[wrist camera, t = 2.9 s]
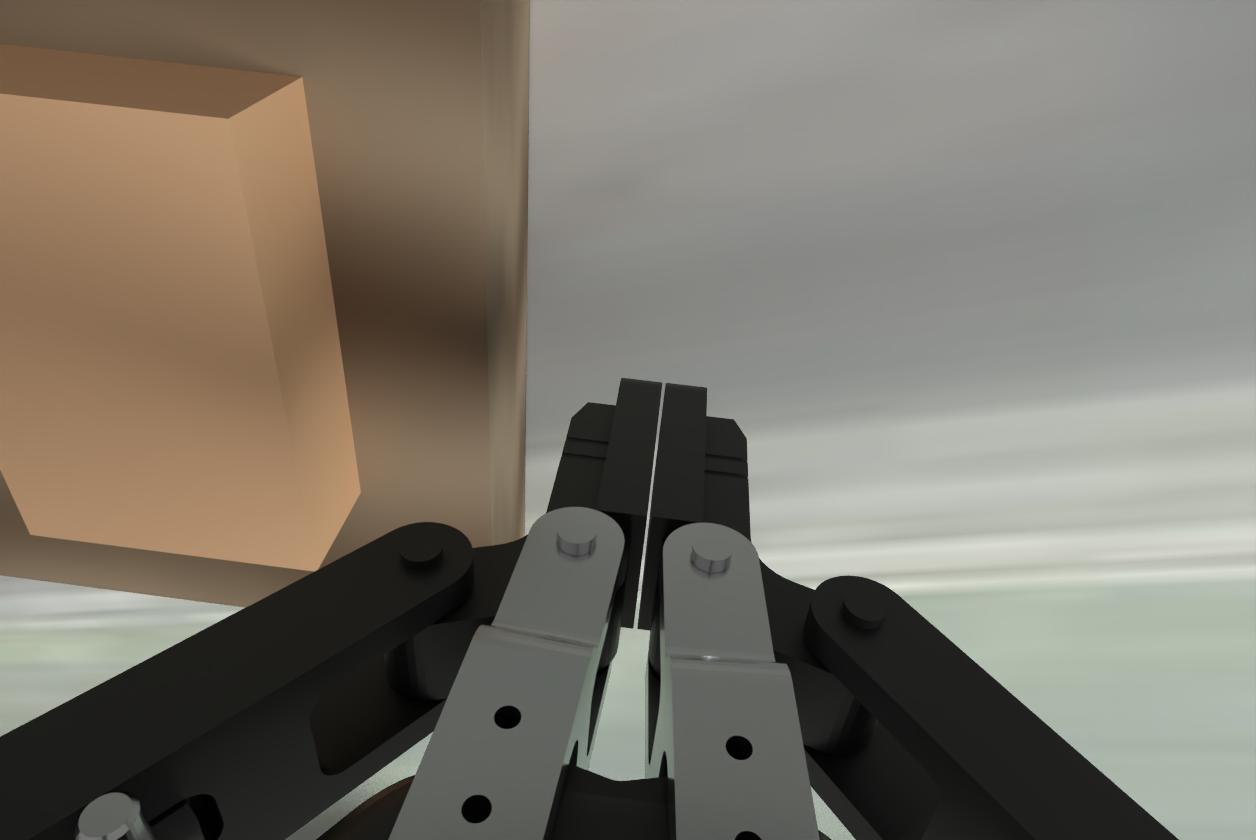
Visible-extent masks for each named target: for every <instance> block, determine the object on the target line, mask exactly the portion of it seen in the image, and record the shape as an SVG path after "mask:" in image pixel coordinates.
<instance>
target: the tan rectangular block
mask: <svg viewBox="0 0 1256 840" xmlns="http://www.w3.org/2000/svg"><path fill="white" fill-rule="evenodd" d="M0 470H1V472H2V475H3V477H4V479H5V481H6V483H7V485H8V488H9V490H10V492H11V494H12V496H13V498H14V501H15V503H16V505H17V507H18V509H19V511H20V514H21V516H22V518H23V520H24V522H25V524H26V527H27V529H28V531H29V533H30V535H35V536H43V537H51V538H58V539H66V540H74V541H82V542H89V543H97V544H105V545H113V546H120V547H128V548H136V549H144V550H151V551H159V552H167V553H175V554H182V555H190V556H198V557H206V558H213V559H221V560H229V561H236V562H244V563H252V564H260V565H267V566H275V567H283V568H291V569H298V570H306V571H314V572H315V571H317V570H318V569H319V567H320V565H321V563H322V561H323V560H324V558H325V556H326V554H327V552H328V551H329V549H330V547H331V545H332V543H333V542H334V540H335V538H336V536H337V534H338V533H339V531H340V529H341V527H342V526H343V524H344V522H345V520H346V518H347V517H348V515H349V513H350V511H351V509H352V508H353V506H354V504H355V502H356V500H357V499H358V497H359V495H360V493H361V490H360V483H359V476H358V469H357V462H356V455H355V448H354V440H353V433H352V426H351V419H350V412H349V405H348V398H347V391H346V384H345V376H344V369H343V362H342V355H341V348H340V341H339V334H338V327H337V320H336V312H335V305H334V298H333V291H332V284H331V277H330V270H329V263H328V255H327V248H326V241H325V234H324V227H323V220H322V213H321V206H320V199H319V191H318V184H317V177H316V170H315V163H314V156H313V149H312V142H311V135H310V127H309V120H308V113H307V106H306V99H305V92H304V85H303V78H302V77H299V76H290V75H281V74H272V73H262V72H253V71H244V70H235V69H226V68H217V67H207V66H198V65H189V64H180V63H171V62H162V61H153V60H143V59H134V58H125V57H116V56H107V55H98V54H88V53H79V52H70V51H61V50H52V49H43V48H33V47H24V46H15V45H6V44H0Z"/></svg>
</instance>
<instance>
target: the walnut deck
mask: <svg viewBox="0 0 1256 840" xmlns="http://www.w3.org/2000/svg"><path fill="white" fill-rule="evenodd" d="M529 32H530V0H0V44H6V45H15V46H24V47H33V48H43V49H52V50H61V51H70V52H79V53H88V54H98V55H107V56H116V57H125V58H134V59H143V60H153V61H162V62H171V63H180V64H189V65H198V66H207V67H217V68H226V69H235V70H244V71H253V72H262V73H272V74H281V75H290V76H299V77H302V78H303V85H304V92H305V99H306V106H307V113H308V120H309V127H310V135H311V142H312V149H313V156H314V163H315V170H316V177H317V184H318V191H319V199H320V206H321V213H322V220H323V227H324V234H325V241H326V248H327V255H328V263H329V270H330V277H331V284H332V291H333V298H334V305H335V312H336V320H337V327H338V334H339V341H340V348H341V355H342V362H343V369H344V376H345V384H346V391H347V398H348V405H349V412H350V419H351V426H352V433H353V440H354V448H355V455H356V462H357V469H358V476H359V483H360V490H361V493H360V495H359V497H358V499H357V500H356V502H355V504H354V506H353V508H352V509H351V511H350V513H349V515H348V517H347V518H346V520H345V522H344V524H343V526H342V527H341V529H340V531H339V533H338V534H337V536H336V538H335V540H334V542H333V543H332V545H331V547H330V549H329V551H328V552H327V554H326V556H325V558H324V560H323V561H322V563H321V565H320V567H319V569H320V568H322V567H324V566H326V565H328V564H330V563H332V562H334V561H336V560H337V559H339V558H341V557H343V556H345V555H347V554H349V553H351V552H353V551H355V550H356V549H358V548H360V547H362V546H364V545H366V544H368V543H370V542H372V541H374V540H375V539H377V538H379V537H381V536H383V535H385V534H387V533H389V532H391V531H393V530H395V529H397V528H399V527H402V526H405V525H408V524H413V523H418V522H436V523H442V524H446V525H449V526H452V527H454V528H456V529H458V530H459V531H461V532H462V533H463V534H464V535H465V536H466V537H467V538H468V539H469V541H470V542H471V545H472V548H475V547H483V546H492V545H499V544H505V543H509V542H512V541H515V540H518V539H520V538H523V537H524V534H525V438H526V336H527V235H528V133H529ZM313 572H314V571H306V570H298V569H291V568H283V567H275V566H267V565H260V564H252V563H244V562H236V561H229V560H221V559H213V558H206V557H198V556H190V555H182V554H175V553H167V552H159V551H151V550H144V549H136V548H128V547H120V546H113V545H105V544H97V543H89V542H82V541H74V540H66V539H58V538H51V537H43V536H35V535H30V533H29V531H28V529H27V527H26V524H25V522H24V520H23V518H22V516H21V514H20V511H19V509H18V507H17V505H16V503H15V501H14V498H13V496H12V494H11V492H10V490H9V488H8V485H7V483H6V481H5V479H4V477H3V475H2V472H1V470H0V575H2V576H10V577H18V578H25V579H33V580H40V581H48V582H56V583H63V584H71V585H79V586H86V587H94V588H102V589H109V590H117V591H124V592H132V593H140V594H147V595H155V596H163V597H170V598H178V599H186V600H193V601H201V602H208V603H216V604H224V605H231V606H239V607H248V606H250V605H252V604H254V603H256V602H258V601H260V600H261V599H263V598H265V597H267V596H269V595H271V594H273V593H275V592H277V591H279V590H280V589H282V588H284V587H286V586H288V585H290V584H292V583H294V582H296V581H298V580H299V579H301V578H303V577H305V576H307V575H309V574H311V573H313Z"/></svg>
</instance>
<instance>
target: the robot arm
mask: <svg viewBox="0 0 1256 840" xmlns="http://www.w3.org/2000/svg"><path fill="white" fill-rule="evenodd" d="M661 389H662V383H661V382H653V381H644V380H636V379H627V378H621V382H620V387H619V393H618V398H617V403H616V406H615V405H606V404H598V403H590V402H588V403H587V404H586V405H585V406H584V407H583V408H582V409H581V410H579V411H578V412H577V413H576V414H575V415H574V416H573V417H572V419H571V422H570V426H569V430H568V434H567V438H566V441H565V445H564V449H563V452H562V457H561V460H560V464H559V467H558V471H557V475H556V479H555V482H554V486H553V490H552V494H551V497H550V501H549V505H548V509H547V512H546V514H544V515H543V516H541V517H540V518H539V519H538V520H537V521H536V522H535V523H534V524H533V525H532V527H531V529H530V531H529V534H528V535H526V536H524V537H523V538H520V539H518V540H515V541H512V542H509V543H505V544H499V545H492V546H483V547H475V548H472V545H471V542H470V541H469V539H468V538H467V537H466V536H465V535H464V534H463V533H462V532H461V531H459V530H458V529H456V528H454V527H452V526H449V525H446V524H442V523H436V522H418V523H413V524H408V525H405V526H402V527H399V528H397V529H395V530H393V531H391V532H389V533H387V534H385V535H383V536H381V537H379V538H377V539H375V540H374V541H372V542H370V543H368V544H366V545H364V546H362V547H360V548H358V549H356V550H355V551H353V552H351V553H349V554H347V555H345V556H343V557H341V558H339V559H337V560H336V561H334V562H332V563H330V564H328V565H326V566H324V567H322V568H320V569H318V570H317V571H315V572H313V573H311V574H309V575H307V576H305V577H303V578H301V579H299V580H298V581H296V582H294V583H292V584H290V585H288V586H286V587H284V588H282V589H280V590H279V591H277V592H275V593H273V594H271V595H269V596H267V597H265V598H263V599H261V600H260V601H258V602H256V603H254V604H252V605H250V606H248V607H246V608H244V609H242V610H240V611H239V612H237V613H235V614H233V615H231V616H229V617H227V618H225V619H223V620H221V621H220V622H218V623H216V624H214V625H212V626H210V627H208V628H206V629H204V630H202V631H201V632H199V633H197V634H195V635H193V636H191V637H189V638H187V639H185V640H183V641H182V642H180V643H178V644H176V645H174V646H172V647H170V648H168V649H166V650H164V651H163V652H161V653H159V654H157V655H155V656H153V657H151V658H149V659H147V660H145V661H144V662H142V663H140V664H138V665H136V666H134V667H132V668H130V669H128V670H126V671H125V672H123V673H121V674H119V675H117V676H115V677H113V678H111V679H109V680H107V681H105V682H104V683H102V684H100V685H98V686H96V687H94V688H92V689H90V690H88V691H86V692H85V693H83V694H81V695H79V696H77V697H75V698H73V699H71V700H69V701H67V702H66V703H64V704H62V705H60V706H58V707H56V708H54V709H52V710H50V711H48V712H47V713H45V714H43V715H41V716H39V717H37V718H35V719H33V720H31V721H29V722H28V723H26V724H24V725H22V726H20V727H18V728H16V729H14V730H12V731H10V732H9V733H7V734H5V735H3V736H1V737H0V840H285V839H286V838H287V837H289V836H290V835H291V834H293V833H294V832H296V831H297V830H298V829H300V828H301V827H302V826H304V825H305V824H307V823H308V822H309V821H311V820H312V819H313V818H315V817H316V816H318V815H319V814H320V813H322V812H323V811H324V810H326V809H327V808H329V807H330V806H331V805H333V804H334V803H335V802H337V801H338V800H340V799H341V798H342V797H344V796H345V795H346V794H348V793H349V792H351V791H352V790H353V789H355V788H356V787H357V786H359V785H360V784H362V783H363V782H364V781H366V780H367V779H368V778H370V777H371V776H373V775H374V774H375V773H377V772H378V771H379V770H381V769H382V768H384V767H385V766H386V765H388V764H389V763H390V762H392V761H393V760H395V759H396V758H397V757H399V756H400V755H401V754H403V753H404V752H406V751H407V750H408V749H410V748H411V747H412V746H414V745H415V744H417V743H418V742H419V741H421V740H422V739H423V738H425V737H426V736H428V735H429V734H430V733H432V732H433V731H434V732H433V734H432V736H431V739H430V741H429V744H428V746H427V748H426V751H425V753H424V756H423V758H422V760H421V763H420V765H419V768H418V770H417V772H416V775H414V776H411V777H408V778H405V779H403V780H401V781H399V782H397V783H395V784H393V785H391V786H389V787H387V788H385V789H383V790H382V791H380V792H379V793H377V794H375V795H374V796H372V797H370V798H369V799H367V800H366V801H365V802H363V803H362V804H361V805H359V806H358V807H357V808H355V809H354V810H353V811H352V812H350V813H349V814H348V815H347V816H345V817H344V818H343V819H342V820H340V821H339V822H338V823H337V824H335V825H334V826H333V827H331V828H330V829H329V830H328V831H326V832H325V833H324V834H323V835H321V836H320V837H319V838H318V839H316V840H831V839H830V838H829V837H827V836H826V835H825V834H823V833H822V832H820V831H819V830H818V827H817V821H816V816H815V810H814V804H813V798H812V792H811V787H812V788H813V789H814V790H815V792H816V793H817V794H818V795H819V796H820V797H821V799H822V800H823V801H824V802H825V803H826V805H827V806H828V807H829V808H830V809H831V810H832V812H833V813H834V814H835V815H836V816H837V818H838V819H839V820H840V821H841V822H842V824H843V825H844V826H845V827H846V828H847V829H848V831H849V832H850V833H851V834H852V835H853V837H854V838H855V839H856V840H1178V839H1177V838H1176V837H1175V836H1174V835H1173V834H1172V833H1170V832H1169V831H1168V830H1167V829H1166V828H1165V827H1164V826H1162V825H1161V824H1160V823H1159V822H1158V821H1157V820H1156V819H1154V818H1153V817H1152V816H1151V815H1150V814H1149V813H1148V812H1146V811H1145V810H1144V809H1143V808H1142V807H1141V806H1139V805H1138V804H1137V803H1136V802H1135V801H1134V800H1133V799H1131V798H1130V797H1129V796H1128V795H1127V794H1126V793H1125V792H1123V791H1122V790H1121V789H1120V788H1119V787H1118V786H1117V785H1115V784H1114V783H1113V782H1112V781H1111V780H1110V779H1109V778H1107V777H1106V776H1105V775H1104V774H1103V773H1102V772H1100V771H1099V770H1098V769H1097V768H1096V767H1095V766H1094V765H1092V764H1091V763H1090V762H1089V761H1088V760H1087V759H1086V758H1084V757H1083V756H1082V755H1081V754H1080V753H1079V752H1078V751H1076V750H1075V749H1074V748H1073V747H1072V746H1071V745H1070V744H1068V743H1067V742H1066V741H1065V740H1064V739H1063V738H1061V737H1060V736H1059V735H1058V734H1057V733H1056V732H1055V731H1053V730H1052V729H1051V728H1050V727H1049V726H1048V725H1047V724H1045V723H1044V722H1043V721H1042V720H1041V719H1040V718H1039V717H1037V716H1036V715H1035V714H1034V713H1033V712H1032V711H1031V710H1029V709H1028V708H1027V707H1026V706H1025V705H1024V704H1022V703H1021V702H1020V701H1019V700H1018V699H1017V698H1016V697H1014V696H1013V695H1012V694H1011V693H1010V692H1009V691H1008V690H1006V689H1005V688H1004V687H1003V686H1002V685H1001V684H1000V683H998V682H997V681H996V680H995V679H994V678H993V677H991V676H990V675H989V674H988V673H987V672H986V671H985V670H983V669H982V668H981V667H980V666H979V665H978V664H977V663H975V662H974V661H973V660H972V659H971V658H970V657H969V656H967V655H966V654H965V653H964V652H963V651H962V650H961V649H959V648H958V647H957V646H956V645H955V644H954V643H952V642H951V641H950V640H949V639H948V638H947V637H946V636H944V635H943V634H942V633H941V632H940V631H939V630H938V629H936V628H935V627H934V626H933V625H932V624H931V623H930V622H928V621H927V620H926V619H925V618H924V617H923V616H922V615H920V614H919V613H918V612H917V611H916V610H915V609H913V608H912V607H911V606H910V605H909V604H908V603H907V602H905V601H904V600H903V599H902V598H901V597H900V596H899V595H897V594H896V593H895V592H893V591H892V590H891V589H889V588H888V587H886V586H884V585H882V584H880V583H878V582H876V581H873V580H870V579H867V578H863V577H858V576H839V577H834V578H831V579H828V580H826V581H824V582H823V583H821V584H820V585H819V586H818V587H817V588H816V590H813V589H811V588H808V587H805V586H803V585H800V584H797V583H795V582H792V581H790V580H788V579H785V578H783V577H782V576H780V575H778V574H776V573H775V572H773V571H772V570H771V569H769V568H768V567H767V566H766V565H765V564H764V563H763V562H762V561H761V560H760V559H759V557H758V553H757V551H756V549H755V547H754V546H753V545H752V543H751V537H750V512H749V487H748V463H747V439H746V437H745V436H744V434H743V433H742V431H741V430H740V428H739V427H738V425H737V424H736V422H735V421H734V419H725V418H717V417H708V416H706V407H707V388H705V387H696V386H688V385H679V384H671V383H666V386H665V394H664V402H663V410H662V418H661V426H660V434H659V442H658V450H657V458H656V466H655V474H654V483H653V492H652V501H651V510H650V519H649V528H648V537H647V547H646V556H645V565H644V574H643V583H642V592H641V601H640V610H639V619H638V628H637V629H643V630H650V641H649V652H648V659H647V666H646V674H645V779H639V780H630V781H615V780H611V779H608V778H605V777H603V776H600V775H598V774H595V773H593V772H590V771H588V768H589V764H590V760H591V755H592V751H593V747H594V742H595V738H596V734H597V729H598V725H599V721H600V716H601V712H602V708H603V703H604V699H605V695H606V690H607V686H608V682H609V677H610V673H611V666H612V660H613V658H614V657H615V655H616V653H617V649H618V643H619V635H620V628H621V627H626V628H633V626H634V618H635V609H636V601H637V593H638V585H639V577H640V569H641V561H642V553H643V544H644V536H645V528H646V520H647V512H648V503H649V494H650V485H651V477H652V468H653V459H654V450H655V442H656V433H657V424H658V415H659V407H660V398H661ZM810 786H811V787H810Z"/></svg>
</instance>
